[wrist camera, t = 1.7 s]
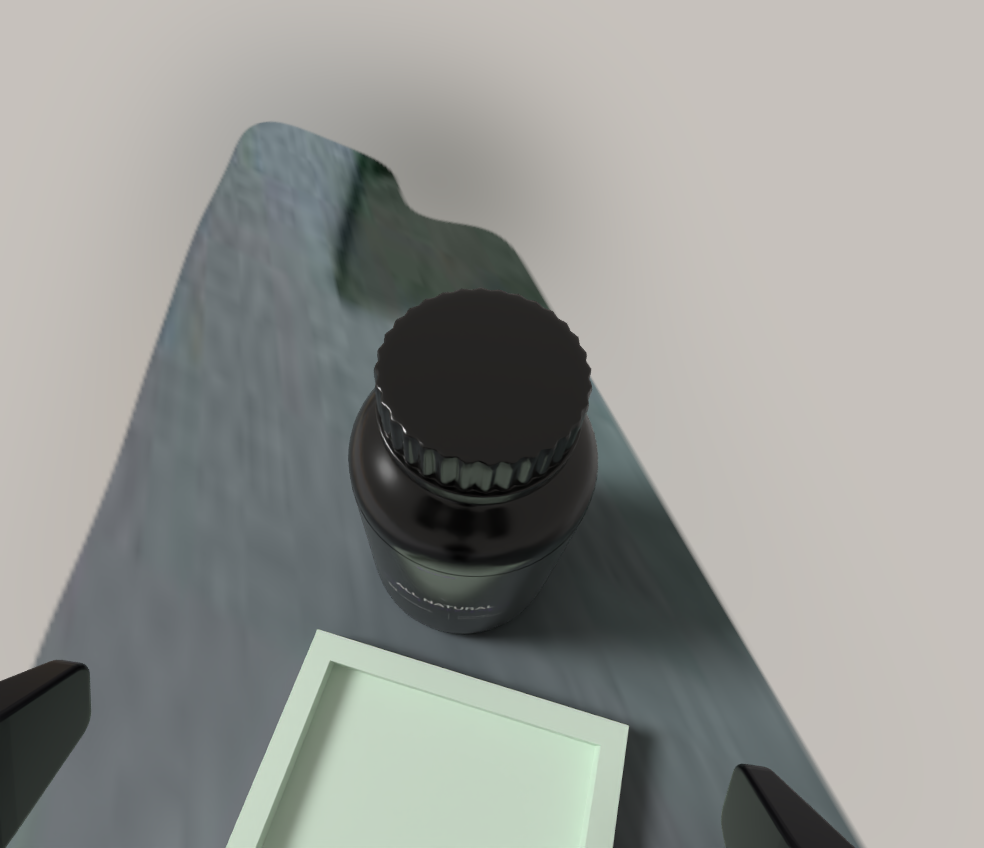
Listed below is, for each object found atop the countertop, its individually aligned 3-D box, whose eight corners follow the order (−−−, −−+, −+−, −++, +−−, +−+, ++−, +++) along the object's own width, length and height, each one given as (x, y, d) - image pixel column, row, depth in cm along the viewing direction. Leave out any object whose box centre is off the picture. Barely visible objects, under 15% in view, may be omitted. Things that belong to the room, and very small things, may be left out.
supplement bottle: (409, 669, 20) (368, 568, 10) (356, 501, 23) (283, 292, 13) (581, 596, 22) (698, 447, 12) (510, 449, 25) (553, 227, 15)
